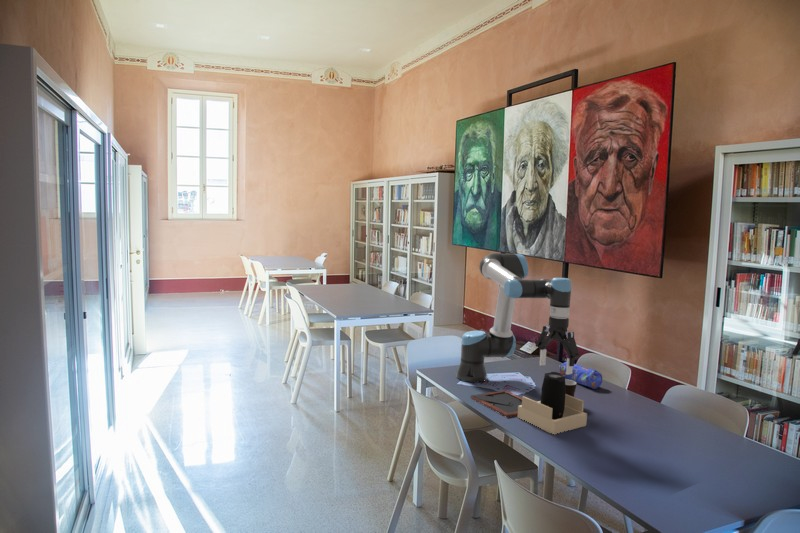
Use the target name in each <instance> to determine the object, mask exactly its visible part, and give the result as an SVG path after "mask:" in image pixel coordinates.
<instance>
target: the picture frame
mask: <svg viewBox="0 0 800 533" xmlns="http://www.w3.org/2000/svg"><path fill="white" fill-rule="evenodd" d="M471 398H472V399H471ZM470 399H471V400H473V399H474V400H473V401H475V400H476V401H475V402H477V401H478V402H477V403H479V402H480V403H479V404H481V403H482V404H484V405H485V407H486V406H487V408H488V407H489V408H488V409H490V408H491V409H490V410H492V409H493V410H494V412H495V411H497V412H499V413H500V414H499V413H498V414H499V415H501V414H502V415H501V416H503V415H504V416H506V417H509V418H511V417H510V416H514V417H517V415H518V406H519V405H522V397H521V396H519V395H517V394H515V393H512V392H511V391H509V390H506V389H505V390H498V391H492V392H486V393H480V394H474V395H473V394H472V395H470ZM482 404H481V405H482ZM484 405H483V406H484ZM493 410H492V411H493ZM497 412H496V413H497ZM504 416H503V417H504ZM506 417H505V418H506Z"/></svg>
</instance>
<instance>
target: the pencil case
mask: <svg viewBox="0 0 800 533" xmlns="http://www.w3.org/2000/svg"><path fill="white" fill-rule="evenodd" d="M558 368H559V373H561V374H562V375H564V376H565V379H568V380H572V381H575V382H576V383H577V384H578V385H581V386H584V387H588V388H591V389H593V390H596V389H599V388H600V387H601V385H602V383H603V375H602V372H600V371H599V370H596V369H595V368H588V367H584V366H583V365H582V366H581V365H580V364H577V363H574V366H573V370H572V374H568V375H567V374H566V368H567V361H564V362H563V363H560V364H559V366H558Z"/></svg>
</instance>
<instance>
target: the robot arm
mask: <svg viewBox="0 0 800 533" xmlns="http://www.w3.org/2000/svg"><path fill="white" fill-rule="evenodd" d="M478 266H479V268H478V269H479V272H480V274H481V275H482V276H483V277H484V278H486V279H488V280H492V281H493V282H494V283H496V284H497V285H499V286H498V295H497V300H496V307H495V314H494V319H493V320H494V321H493V326H492V327H491V328H489V333H486V332H485V331H483V330H470V331H466V332H465V333H463V334H462V336H461V341H460V343H461V348H460V350H461V351H460V361H459V362H460V363H459V366H458V369H457V371H456V375H455V377H456V376H457V377H456V379H458V378H459V379H458V380H460V379H461V380H460V381H462V380H465V381H464V382H467V381H471V382H470V383H479V382H478V381H483V382H485V381H487V379H488V378H487V377H488V374H487V370H486V367H485V358H508V357H511V356H512V355H513V354H514V353H515V351H516V348H517V343H516V341H517V340H516V337H515V335H514V333H513V331H512V330H511V329H512V328H511V327H512V322H513V317H514V309H515V303H516V299H547V300H550V302H549V318H548V325H543V326H542V330H541V333H540V335H539V337H538V339H537V341H536V343H535V347H537V348H538V350H539V351H538V357H539V366H546V363H547V362H546V361H547V349H546V348H547V346H549V344H551V342H552V341H553V340H554V341H558V342H560V343H561V344H562V346H563V348H564V350H565V352H566V354H567V355H568V357H566V362H567V368H566V374H567V375H568V374H572V370H573V366H574V364H575V361H576V360H575V359H576V358H579V357H580V353H579V349H578V346H577V345H578V344H577V343H576V339H575V332H574V331H568V329H569V322H570V319H569V317H570V308H571V306H570V305H571V297H572V295H571V294H572V280H571V279H570V278H567V277H553V278H552V279H550V278H549V279H548V278H541V279H525V278H527V277H528V274H529V263H528V260H527V258H526V256H524V255H523V254H521V253H515V252H514V253H495V252H493V253H489V254H487V255H485V256H484V257H483V258H482V259H481V261H480V262H479V265H478ZM484 380H485V381H484Z"/></svg>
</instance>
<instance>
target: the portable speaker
mask: <svg viewBox="0 0 800 533" xmlns="http://www.w3.org/2000/svg"><path fill="white" fill-rule="evenodd" d="M565 379H566V378H565V376H564V375H562V374H561V373H560V372H557V371H550V372H546V373H544V376H543V382H542V385H541V389H540V390H541V393H540V401H541V404H543V405H546V406H548V407H550V408H553V410H552V419H553V420H556V419H560V418H563V413H564V409H565V396H566V385H565Z"/></svg>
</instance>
